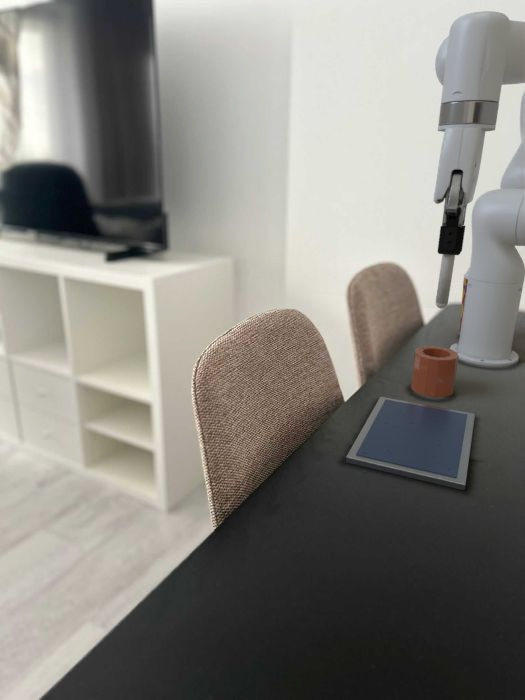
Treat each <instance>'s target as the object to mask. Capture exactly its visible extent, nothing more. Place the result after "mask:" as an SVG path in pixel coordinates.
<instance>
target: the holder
mask: <svg viewBox="0 0 525 700" xmlns="http://www.w3.org/2000/svg"><path fill="white" fill-rule="evenodd" d="M458 358H459V355H458V353H457V352H455V351H453V350H451V349H450V348H447V347H444V346H443V347H442V346H436V345H424V346H419V347H417V348H416V349H415V350H414V355H413V364H412V365H413V366H412V373H411V381H410V383H411V384H410V388H411V390H412V391H413V392H415V393H416V394H418V395H421V396H425V397H430V398H446V397H450V396H452V395H453V394H454V392H455V384H456V377H457V373H458V372H457V371H458V364H459V359H458Z"/></svg>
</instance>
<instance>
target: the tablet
mask: <svg viewBox="0 0 525 700" xmlns="http://www.w3.org/2000/svg"><path fill="white" fill-rule="evenodd" d="M475 417H476V413H473V412H468V411H463V410H457V409H451V408H445V407H439V406H436V405H435V406H434V405H429V404H424V403H418V402H412V401H406V400H401V399H396V398H390V397H385V396H380V397H379V398H378V400H377V402H376V404H375V405H374V407H373V409H372V411H371V412H370V414H369V416H368V418H367V419H366V421H365V423H364V424H363V427H362V428H361V429H360V432H359V434H358V435H357V437H356V439H355V440H354V442H353V444H352V446H351V448H350V449H349V451H348V453H347V455H346V456H345V463H347V464H352V465H354V466H355V465H356V466H359V467H364V468H368V469H372V470H376V471H380V472H384V473H388V474H393V475H397V476H402V477H406V478H410V479H414V480H419V481H423V482H427V483H430V484H435V485H439V486H443V487H448V488H451V489H452V488H453V489H457V490H460V491H465V490H466V484H467V477H468V469H469V463H470V462H469V461H470V454H471V448H472V447H471V446H472V441H473V440H472V439H473V433H474V426H475Z"/></svg>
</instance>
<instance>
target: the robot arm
mask: <svg viewBox="0 0 525 700" xmlns="http://www.w3.org/2000/svg"><path fill="white" fill-rule="evenodd" d="M434 61H435V63H434V70H435V75H436V78H437V80H438V82H439V83H440V85H441V86H442V91H441V99H440V106H439V116H438V124H437V131H438V132H442V133H443V138H442V143H441V149H440V154H439V160H438V168H437V174H436V181H435V188H434V193H433V202H434V203H435V204H436V205H439V204H441V203H444V204H443V212H442V213H443V214H442V222H441V223H442V224H441V225H440V229H439V236H438V245H437V253H438V254H439V255H443V254H447V255H455V256H460V255H461V254H462V251H463V246H464V238H465V232H466V225H465V221H466V215H467V207H468V204H470V203H471V202H473V200H474V196H475V192H476V189H477V185H478V180H479V176H480V170H481V169H480V168H481V164H482V159H483V151H484V144H485V139H486V138H485V137H486V132H493V131H496V127H497V126H496V125H497V122H498V115H499V107H500V98H501V92H502V86H505V85H508V86H509V85H519V84H525V21H521V20H520V21H519V20H511V19H510V18H509V17H508V15H506V14H505V13H502V12H499V11H493V10H492V11H491V10H484V11H474V12H469V13H466V14H463V15H461V16H459V17H458V18H456V19H455V20H454V21H453V22H452V24H451V26H450V28H449V33H448V36H446V38H444V40H443V41H442V42H441V44H440V46H439V48H438V50H437V51H436V56H435V60H434ZM519 108H520V109H519V133H520V144H519V146H518V148H517V149H516V151H515V153H514V154H513V156H512V158H511V160H510V161H509V162H508V165H507V166H506V168H505V170H504V172H503V174H502V177H501V180H500V184H499V185H500V186H499V188H497V189H491V190H488V191H486V192H484V193H483V194H481V195H480V196H478V197H477V199H476V201H475V202H474V204H473V206H472V211H471V254H470V261H469V262H470V264H469V268H470V270H469V277H468V283H467V290H466V297H465V304H464V311H463V318H462V324H461V331H460V330H459V339H458V342H455V343H453V344H451V345H450V347H449V349H451V350H453V351H455V352H457V353H458V355H459V358H458V360H461V361H464V362H467V363H471V364H475V365H481V366H491V367H505V366H511V365H515V364H517V363H519V360H520V359H519V358H520V356H519V354H518V353H517V352H516V351H514V350H513V349H512V347H513V342H514V337H515V331H516V327H517V320H518V316H519V310H520V303H521V299H522V294H523V289H524V288H523V287H524V283H525V263H524V260H523V258H522V256H521V255H520V253H519V251H518V250H517V249H518V248H517V247H525V89H524V90H523V92H522V96H521V101H520V107H519Z"/></svg>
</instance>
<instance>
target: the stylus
mask: <svg viewBox="0 0 525 700" xmlns="http://www.w3.org/2000/svg"><path fill="white" fill-rule="evenodd" d="M441 255H442V256H441V263H440V268H439V275H438V283H437V290H436V297H435V305H436V307H437V308H439V309H445V308H447V306H448V305H449V298H450V292H451V287H452V285H451V284H452V279H453V272H454V266H455V261H456V260H455V259H456V255H447V254H441Z"/></svg>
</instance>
